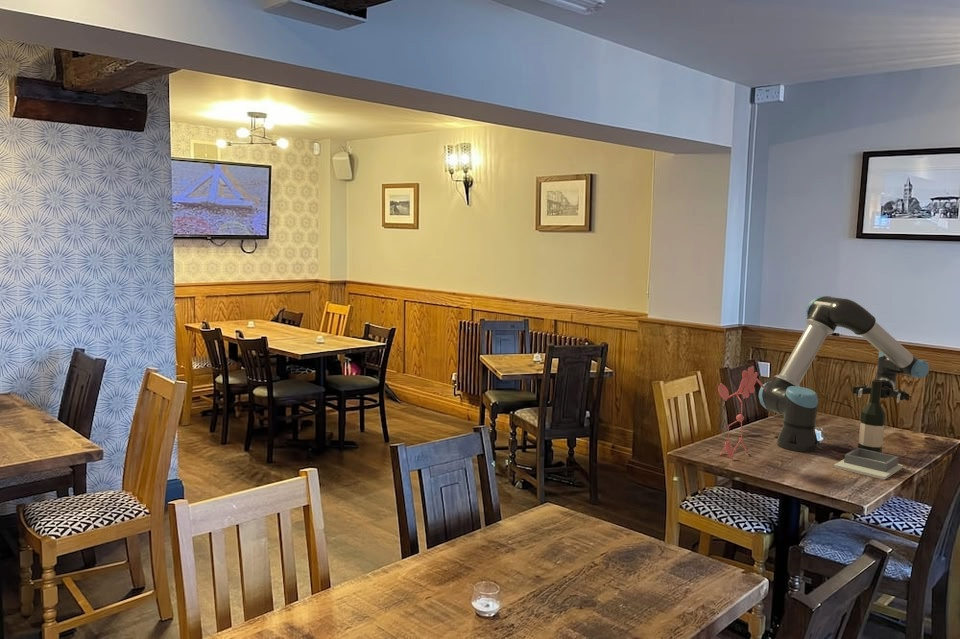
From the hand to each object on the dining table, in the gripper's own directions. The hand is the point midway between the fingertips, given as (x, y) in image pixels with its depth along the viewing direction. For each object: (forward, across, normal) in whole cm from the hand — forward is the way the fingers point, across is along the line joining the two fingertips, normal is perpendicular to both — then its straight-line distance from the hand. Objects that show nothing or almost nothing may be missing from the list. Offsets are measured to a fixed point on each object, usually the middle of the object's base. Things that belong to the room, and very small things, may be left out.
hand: (878, 397), depth 283 cm
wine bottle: (+10, 0, -22) cm, 24 cm away
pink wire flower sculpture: (+49, +39, -21) cm, 66 cm away
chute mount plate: (+29, -1, -21) cm, 36 cm away
